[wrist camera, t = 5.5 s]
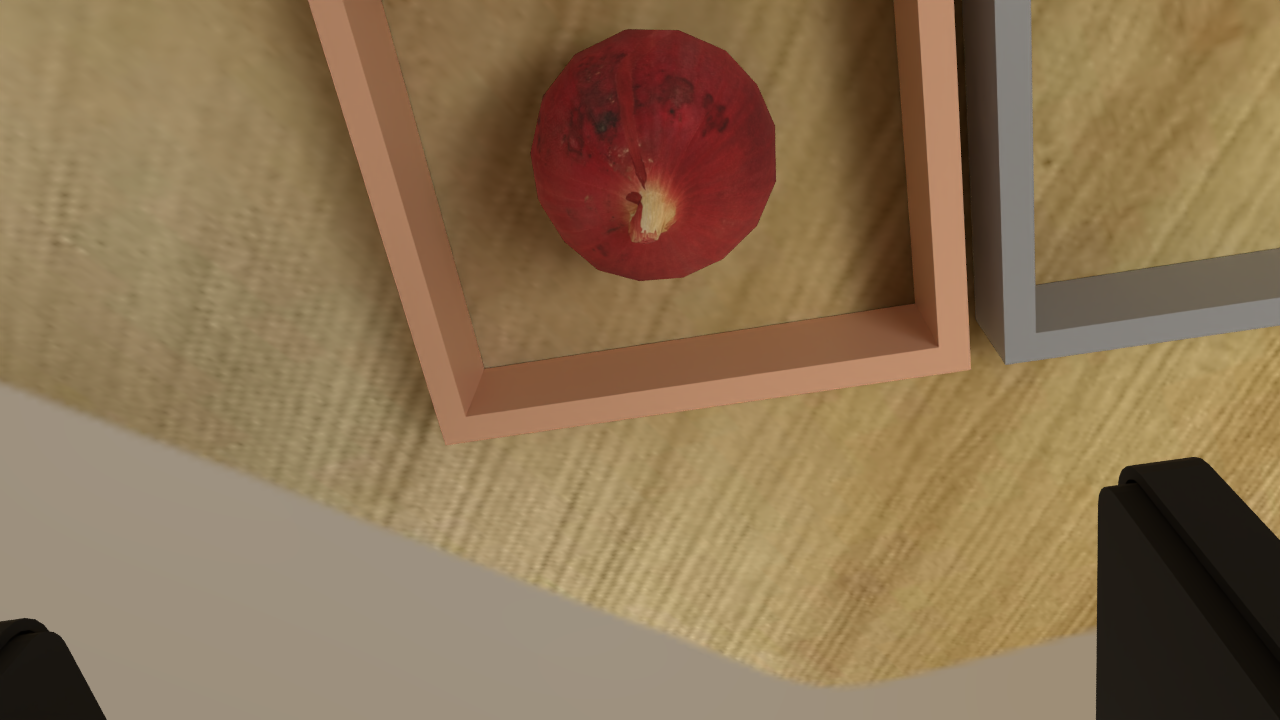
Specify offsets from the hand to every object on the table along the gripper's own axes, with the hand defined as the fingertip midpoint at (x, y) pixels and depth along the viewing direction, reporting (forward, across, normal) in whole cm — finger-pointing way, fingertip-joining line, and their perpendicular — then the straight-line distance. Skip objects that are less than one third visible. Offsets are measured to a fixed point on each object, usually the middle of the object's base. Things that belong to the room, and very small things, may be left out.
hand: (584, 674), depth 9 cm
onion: (+21, 0, -1) cm, 21 cm away
